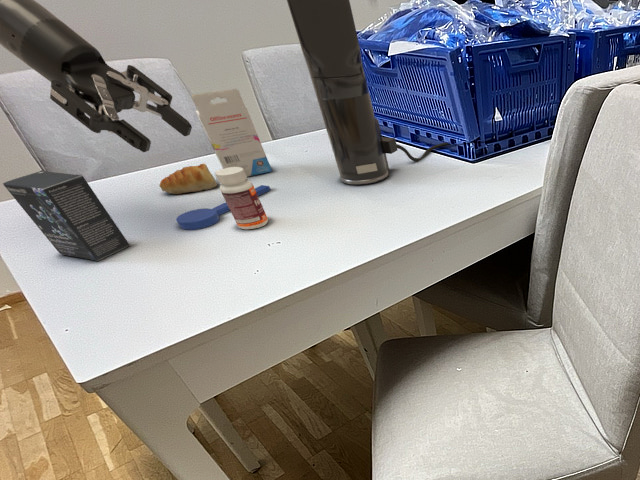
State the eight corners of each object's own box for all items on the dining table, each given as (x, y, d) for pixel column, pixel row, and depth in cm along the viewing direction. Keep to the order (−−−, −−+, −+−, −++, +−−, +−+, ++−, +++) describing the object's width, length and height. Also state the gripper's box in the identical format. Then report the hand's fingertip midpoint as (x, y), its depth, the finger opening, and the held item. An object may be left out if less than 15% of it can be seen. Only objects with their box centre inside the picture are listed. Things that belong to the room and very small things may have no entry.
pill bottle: (272, 225, 74) (248, 171, 68) (241, 232, 72) (214, 177, 66) (265, 216, 77) (242, 163, 71) (235, 223, 75) (209, 169, 69)
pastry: (167, 199, 84) (154, 177, 81) (161, 190, 88) (149, 169, 85) (221, 187, 88) (210, 166, 85) (213, 179, 92) (203, 158, 89)
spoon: (255, 188, 87) (252, 181, 86) (279, 191, 86) (277, 184, 85) (171, 227, 74) (167, 220, 74) (199, 231, 73) (195, 224, 72)
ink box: (267, 166, 97) (233, 84, 87) (273, 171, 94) (239, 88, 84) (224, 174, 94) (185, 90, 83) (229, 180, 91) (189, 94, 80)
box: (59, 255, 68) (0, 182, 60) (95, 240, 71) (44, 169, 64) (97, 262, 66) (40, 187, 58) (132, 245, 70) (83, 173, 62)
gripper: (-10, 21, 53) (137, 132, 60) (91, 12, 63) (207, 107, 70) (-9, 75, 57) (128, 173, 64) (85, 59, 67) (195, 144, 74)
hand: (169, 139), depth 67 cm, fingers open, 8 cm apart
